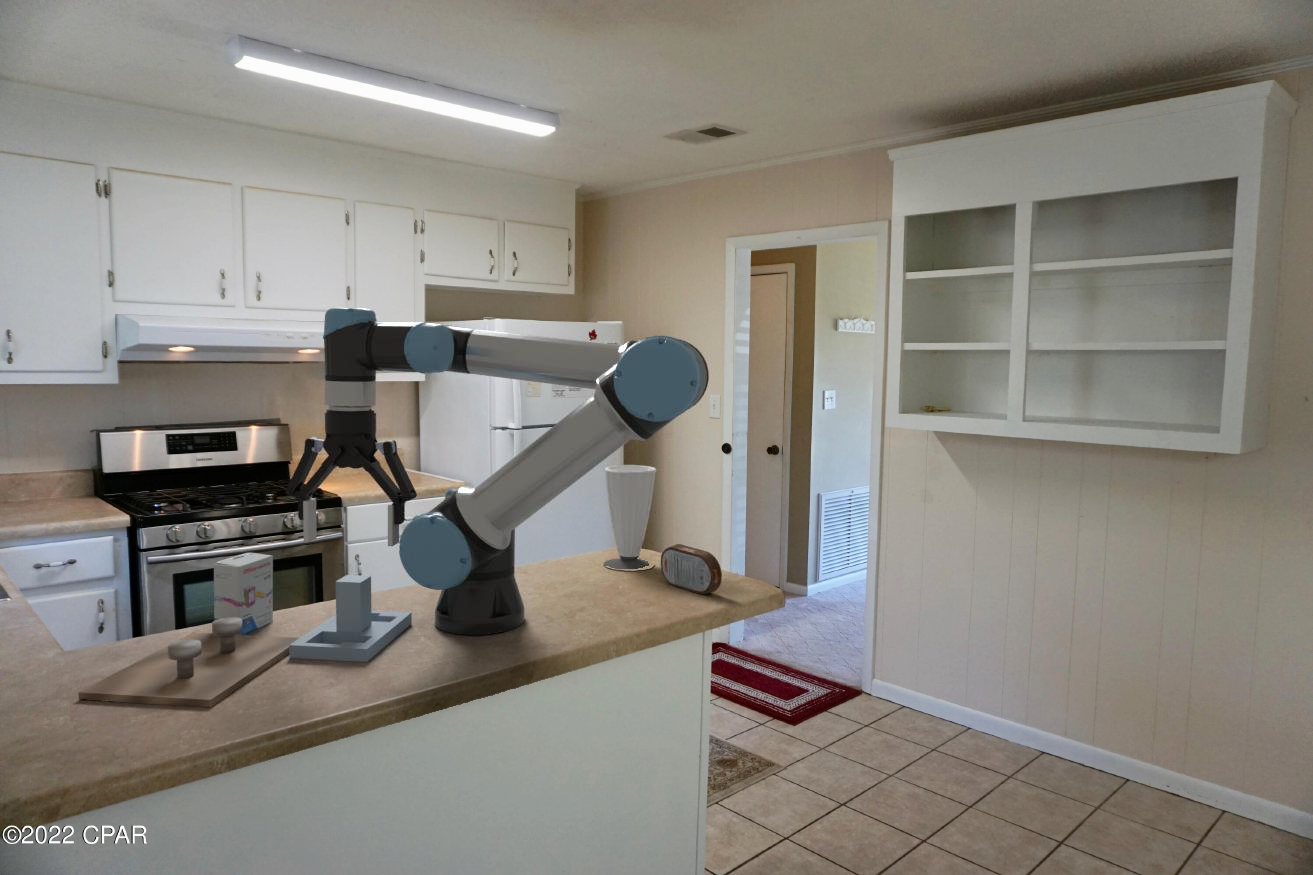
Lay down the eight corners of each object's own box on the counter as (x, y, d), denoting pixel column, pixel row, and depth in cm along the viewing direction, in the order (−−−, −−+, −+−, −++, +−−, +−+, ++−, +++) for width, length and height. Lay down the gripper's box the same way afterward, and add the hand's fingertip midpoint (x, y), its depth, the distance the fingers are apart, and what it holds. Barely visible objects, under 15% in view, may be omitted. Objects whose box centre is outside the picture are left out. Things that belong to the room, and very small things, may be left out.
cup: (661, 569, 183) (664, 471, 181) (610, 573, 179) (612, 472, 177) (645, 557, 194) (647, 464, 192) (597, 560, 190) (598, 465, 188)
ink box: (240, 637, 135) (238, 565, 134) (213, 635, 136) (211, 563, 135) (275, 621, 143) (273, 553, 142) (249, 618, 144) (247, 550, 143)
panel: (411, 623, 144) (411, 566, 143) (367, 661, 126) (366, 596, 125) (343, 620, 144) (342, 563, 143) (289, 657, 127) (288, 592, 126)
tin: (722, 596, 164) (723, 553, 164) (711, 599, 162) (712, 556, 161) (668, 580, 175) (669, 540, 174) (657, 582, 173) (658, 542, 172)
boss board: (302, 643, 133) (302, 609, 132) (210, 707, 109) (209, 665, 108) (193, 638, 134) (192, 604, 133) (78, 699, 110) (76, 658, 110)
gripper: (437, 409, 134) (436, 540, 136) (285, 404, 136) (287, 533, 138) (420, 412, 127) (420, 551, 129) (260, 407, 129) (263, 543, 131)
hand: (351, 542), depth 134 cm, fingers open, 13 cm apart
